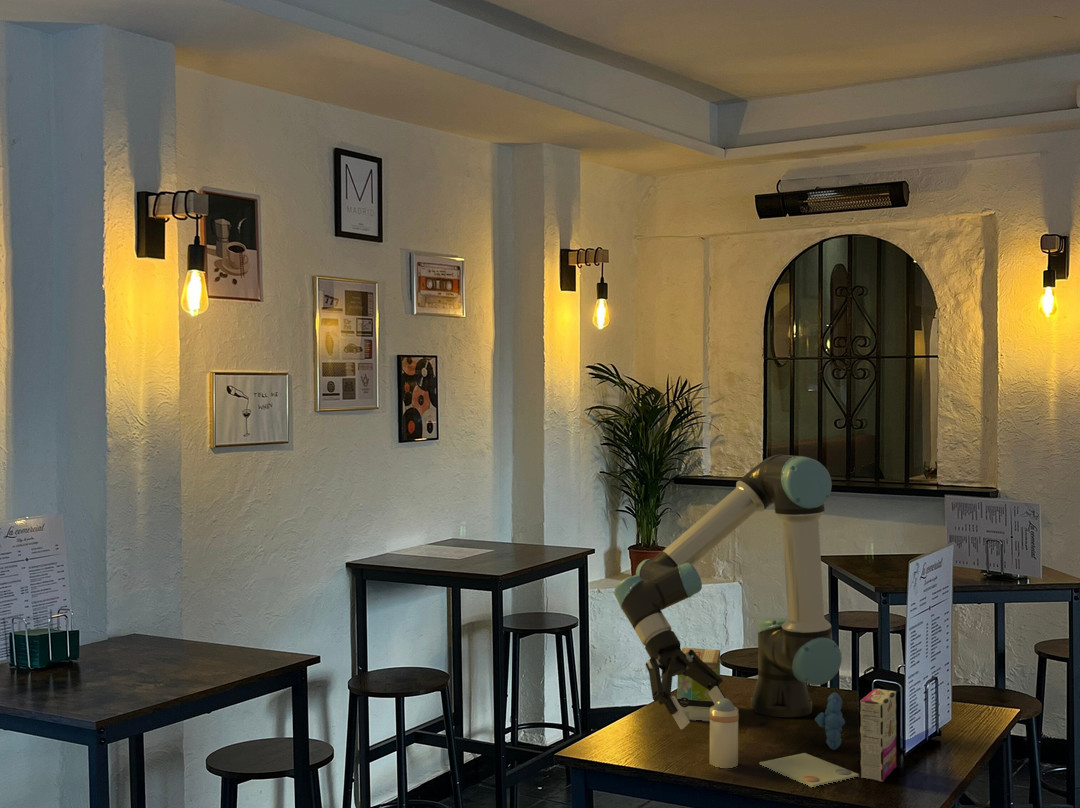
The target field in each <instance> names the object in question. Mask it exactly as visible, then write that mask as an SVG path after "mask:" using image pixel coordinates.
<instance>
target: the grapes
mask: <svg viewBox="0 0 1080 808" xmlns="http://www.w3.org/2000/svg"><path fill="white" fill-rule="evenodd" d="M826 700H827V704H826V709H824V710H825V712H820V713H818V714H817V716H816V717H815V718H814V721H815V722H816V724H817V725H818V727H820V728H824V731H825V737H827V738H826V741H825V742H826V744H827V745H828V747H829V748H830V749H831V750H834V751H835V750H837V749H838V748H840V745H841V744H842V741H843V739H842V738H841V737H842V733H841V732H842V731H843V726H844V725H845V724H846V720H845V719H844V717H843V715H844V714H843V713H842V711H841V709H842V705H843V704H844V702H843V699H842V697H841V696H840V694H838V693H837V692H836V691H835V692H832V693H830V694H829V696H828V697H827V699H826Z"/></svg>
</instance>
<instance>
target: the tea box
mask: <svg viewBox="0 0 1080 808" xmlns="http://www.w3.org/2000/svg"><path fill="white" fill-rule="evenodd" d="M690 650H693V651H694V652H695V653H696V655H697V656H698V658H700V659H701V660H702V661H703V662H704V663H705V664H706V665H707V666H708V667H710V668H711V669H712V670H713V671H714V672H715V673H716V674H717V675H718V676H719V677H721V650H720V649H711V648H710V649H709V648H695V647H694V648H693V647H682V648H681V651H682V652H683V653H684V654H685V653H688V652H689V651H690ZM687 668H688V666H687ZM710 685H711V684H710ZM720 685H721V684H720ZM720 685H719V688H720ZM676 687H677V688H676V689H677V690H676V692H677V693H676V699H677V701H678V703H679V704H680V706H681V708H682V709H683V711H684V713H685V715H686V716H687V718H688V720H689V721H696V720H702V722H710V718H709V712H710V707H711V706H714V702H713V700H712V699H711V697H710V696H709V694H708V693H709V692H710V691H709V690H708V689H706V688H705V687H703V686H702V685H700V684H699V683H697V682H696V681H694V680H693V679H691V678H690V677H688V676H684V675H677V686H676ZM720 689H721V688H720Z"/></svg>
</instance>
